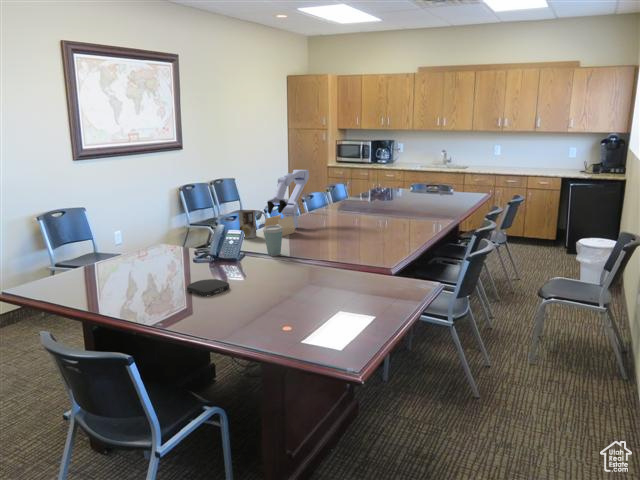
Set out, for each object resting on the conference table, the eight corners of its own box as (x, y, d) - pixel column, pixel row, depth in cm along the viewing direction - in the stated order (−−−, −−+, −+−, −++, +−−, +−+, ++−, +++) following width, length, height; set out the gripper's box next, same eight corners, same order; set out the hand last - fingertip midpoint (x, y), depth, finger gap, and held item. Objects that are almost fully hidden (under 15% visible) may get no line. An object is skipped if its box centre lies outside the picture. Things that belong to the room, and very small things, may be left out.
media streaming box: (210, 283, 232) (210, 276, 231) (233, 289, 222) (232, 282, 222) (183, 291, 220) (182, 284, 220) (205, 298, 211) (205, 291, 211)
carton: (280, 230, 339) (280, 224, 338) (295, 232, 332) (295, 226, 332) (263, 235, 325) (263, 229, 324) (278, 237, 318) (278, 231, 317)
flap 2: (294, 225, 331) (291, 216, 330) (294, 225, 330) (292, 215, 330) (279, 229, 318) (277, 219, 318) (280, 229, 318) (277, 219, 318)
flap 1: (278, 223, 337) (280, 214, 335) (279, 223, 337) (281, 214, 335) (264, 227, 325) (265, 218, 323) (264, 227, 325) (266, 218, 322)
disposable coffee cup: (280, 257, 272) (280, 229, 269) (260, 256, 274) (259, 228, 271) (286, 252, 282) (285, 224, 279) (267, 251, 284) (265, 224, 281)
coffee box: (256, 236, 323) (255, 210, 320) (254, 238, 317) (253, 212, 314) (242, 236, 324) (241, 210, 321) (239, 238, 318) (238, 211, 314)
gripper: (267, 191, 330) (261, 209, 325) (286, 189, 323) (280, 209, 317) (273, 197, 336) (267, 215, 330) (292, 195, 328) (286, 214, 323)
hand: (274, 212), depth 324 cm, fingers open, 7 cm apart
